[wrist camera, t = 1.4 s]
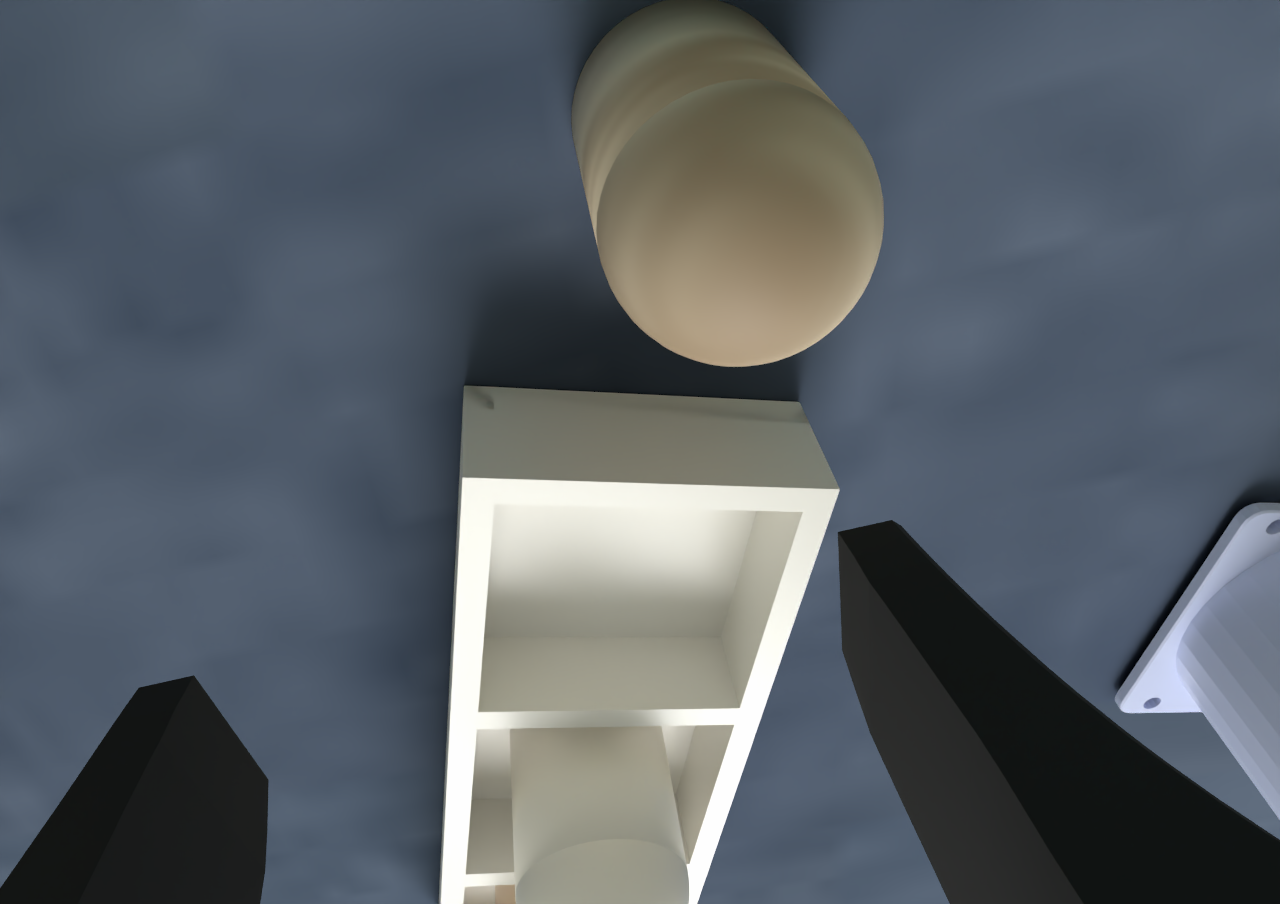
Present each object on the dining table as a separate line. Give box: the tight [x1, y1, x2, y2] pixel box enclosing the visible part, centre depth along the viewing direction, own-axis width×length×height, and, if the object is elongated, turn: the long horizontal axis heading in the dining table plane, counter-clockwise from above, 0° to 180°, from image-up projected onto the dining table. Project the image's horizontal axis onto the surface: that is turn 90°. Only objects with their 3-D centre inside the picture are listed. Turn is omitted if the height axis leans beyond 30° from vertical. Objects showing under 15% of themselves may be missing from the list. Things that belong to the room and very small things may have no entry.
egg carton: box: [439, 385, 840, 904], centre depth 24 cm, size 7×20×7 cm, turn 172°
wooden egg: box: [571, 0, 884, 367], centre depth 15 cm, size 4×4×6 cm
